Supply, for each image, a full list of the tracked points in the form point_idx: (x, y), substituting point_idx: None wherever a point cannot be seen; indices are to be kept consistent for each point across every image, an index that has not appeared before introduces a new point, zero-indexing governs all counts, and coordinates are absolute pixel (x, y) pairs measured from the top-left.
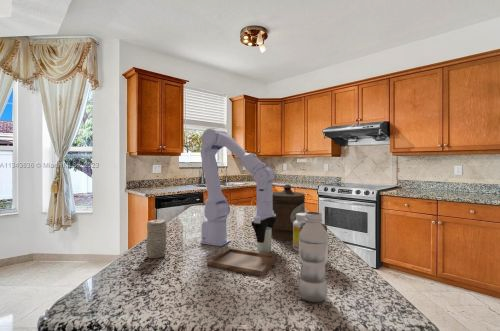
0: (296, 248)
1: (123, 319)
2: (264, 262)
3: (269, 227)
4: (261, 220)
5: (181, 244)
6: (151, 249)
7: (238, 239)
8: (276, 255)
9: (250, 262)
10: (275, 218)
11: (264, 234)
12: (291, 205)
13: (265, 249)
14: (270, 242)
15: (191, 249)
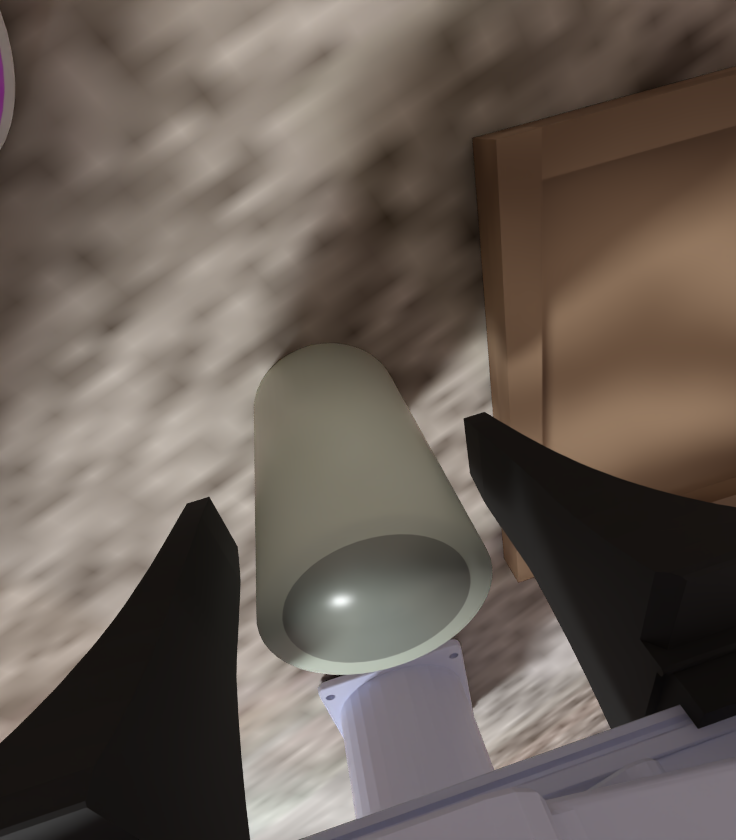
0: (4, 58)
1: None
2: (665, 185)
3: (267, 602)
4: (725, 714)
5: (524, 730)
6: None
7: (246, 684)
8: (525, 142)
9: (698, 293)
10: (79, 789)
11: (542, 461)
12: None
13: (387, 379)
14: (337, 394)
15: (566, 670)
